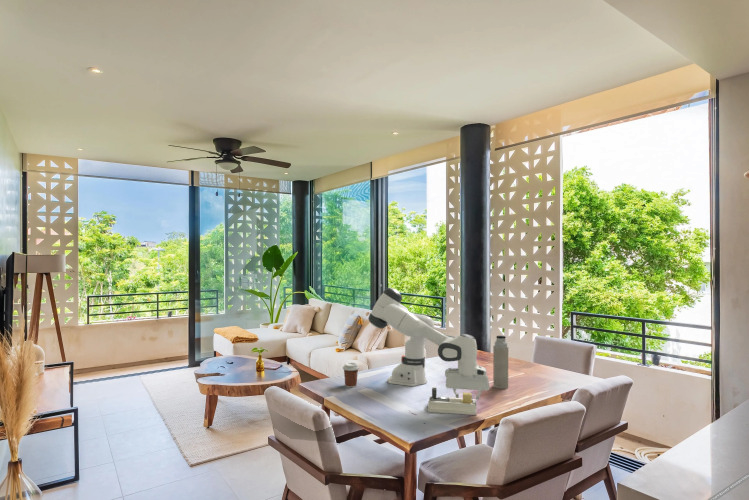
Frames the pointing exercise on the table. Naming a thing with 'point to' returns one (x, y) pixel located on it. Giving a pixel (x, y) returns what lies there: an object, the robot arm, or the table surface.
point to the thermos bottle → (500, 363)
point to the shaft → (434, 398)
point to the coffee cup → (350, 374)
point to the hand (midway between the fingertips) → (467, 398)
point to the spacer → (467, 397)
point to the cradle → (453, 406)
